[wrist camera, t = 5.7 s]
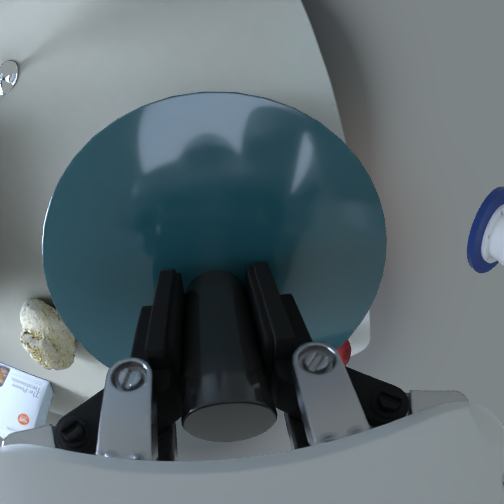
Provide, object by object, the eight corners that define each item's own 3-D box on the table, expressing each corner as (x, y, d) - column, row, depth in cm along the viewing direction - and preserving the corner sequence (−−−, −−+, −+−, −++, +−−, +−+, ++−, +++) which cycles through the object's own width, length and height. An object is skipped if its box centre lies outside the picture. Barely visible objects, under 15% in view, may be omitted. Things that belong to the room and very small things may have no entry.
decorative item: (99, 366, 35) (52, 391, 31) (89, 329, 41) (47, 353, 37) (52, 311, 27) (0, 343, 23) (51, 275, 33) (5, 305, 30)
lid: (390, 106, 9) (533, 136, 3) (342, 362, 16) (384, 450, 10) (25, 130, 7) (-104, 180, 2) (110, 383, 14) (95, 480, 9)
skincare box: (49, 379, 41) (30, 444, 27) (54, 393, 43) (39, 455, 29) (-24, 349, 35) (-50, 402, 21) (-17, 364, 37) (-39, 416, 23)
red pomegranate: (333, 315, 42) (354, 352, 35) (345, 334, 45) (364, 368, 38) (301, 335, 43) (318, 373, 36) (316, 351, 46) (331, 387, 39)
